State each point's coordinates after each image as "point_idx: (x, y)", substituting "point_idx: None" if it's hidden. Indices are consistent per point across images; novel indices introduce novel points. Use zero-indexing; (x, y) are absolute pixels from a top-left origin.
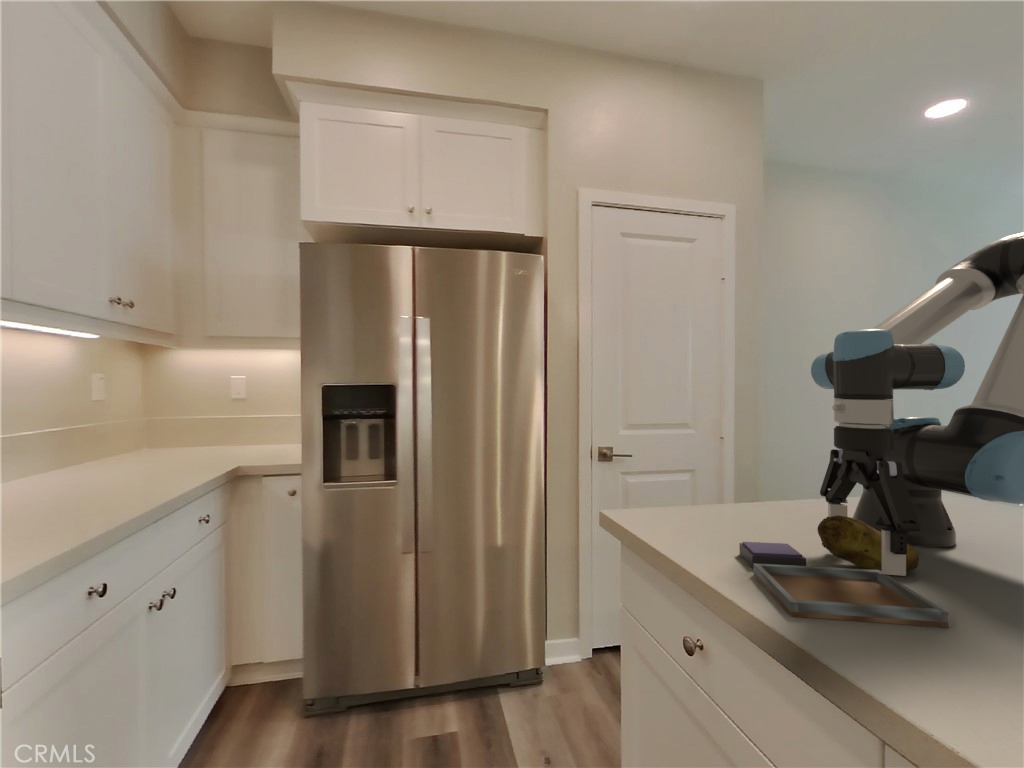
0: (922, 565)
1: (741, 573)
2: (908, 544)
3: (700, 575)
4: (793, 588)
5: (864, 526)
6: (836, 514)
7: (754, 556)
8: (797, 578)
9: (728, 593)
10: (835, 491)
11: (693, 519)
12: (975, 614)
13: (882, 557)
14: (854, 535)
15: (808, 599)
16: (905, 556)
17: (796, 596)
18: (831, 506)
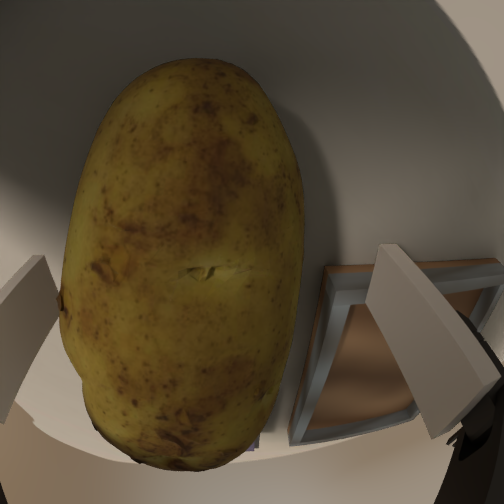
0: (125, 15)
1: (281, 435)
2: (183, 91)
3: (290, 453)
4: (357, 410)
5: (219, 414)
6: (5, 371)
7: (258, 446)
8: (321, 406)
9: (343, 439)
10: (3, 496)
11: (32, 404)
12: (484, 161)
13: (389, 338)
14: (269, 413)
15: (392, 400)
16: (434, 288)
17: (380, 408)
18: (5, 415)
